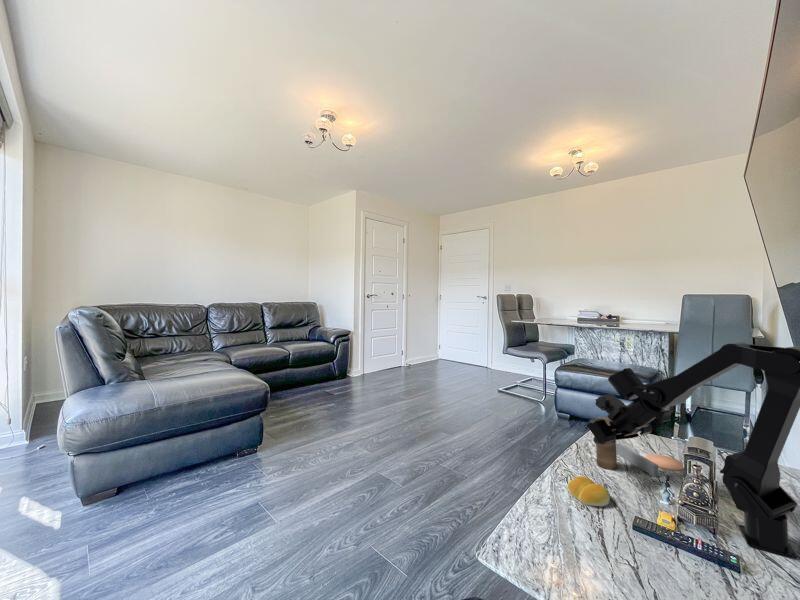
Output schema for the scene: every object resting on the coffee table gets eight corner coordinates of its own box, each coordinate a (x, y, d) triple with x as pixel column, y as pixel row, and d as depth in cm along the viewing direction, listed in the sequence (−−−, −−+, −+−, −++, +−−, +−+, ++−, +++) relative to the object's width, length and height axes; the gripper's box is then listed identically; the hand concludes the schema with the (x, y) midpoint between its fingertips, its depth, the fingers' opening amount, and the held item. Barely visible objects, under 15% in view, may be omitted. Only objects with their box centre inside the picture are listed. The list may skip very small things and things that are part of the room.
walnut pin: (616, 470, 92) (614, 424, 93) (596, 466, 95) (594, 421, 95) (617, 463, 96) (615, 418, 97) (597, 459, 99) (595, 416, 99)
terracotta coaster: (687, 473, 90) (687, 472, 90) (646, 465, 95) (646, 464, 95) (682, 460, 97) (681, 458, 97) (644, 453, 102) (644, 452, 102)
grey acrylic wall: (658, 476, 89) (658, 465, 89) (654, 476, 89) (653, 465, 89) (620, 453, 103) (619, 443, 103) (616, 453, 103) (616, 443, 103)
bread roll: (594, 512, 75) (593, 494, 75) (562, 491, 84) (561, 476, 84) (619, 503, 78) (618, 486, 78) (586, 484, 87) (585, 469, 87)
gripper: (639, 384, 96) (605, 411, 106) (591, 391, 89) (560, 419, 100) (670, 419, 88) (631, 445, 98) (620, 430, 82) (584, 456, 92)
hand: (601, 440), depth 97 cm, fingers closed on walnut pin, 5 cm apart
